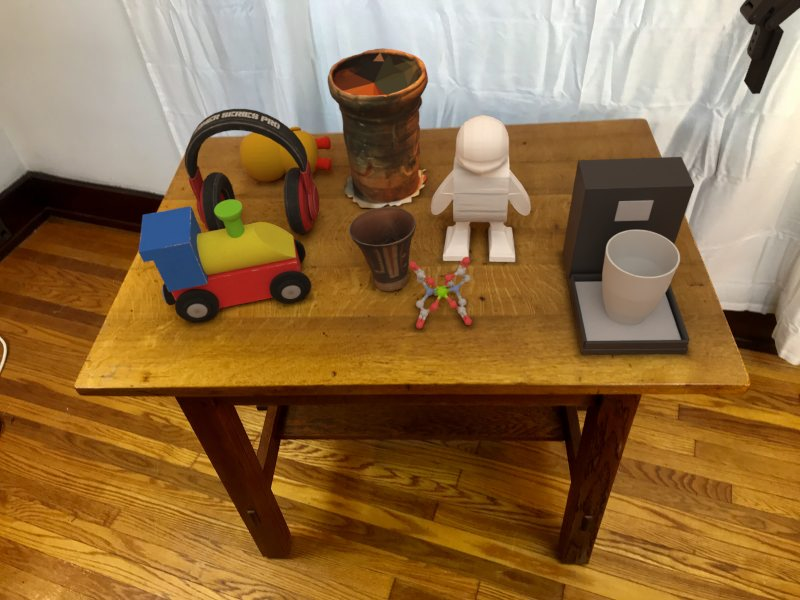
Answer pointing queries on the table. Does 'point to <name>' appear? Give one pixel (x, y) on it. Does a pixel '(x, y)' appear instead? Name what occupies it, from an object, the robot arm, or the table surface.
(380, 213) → the cup
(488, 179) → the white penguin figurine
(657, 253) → the cup
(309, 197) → the headphones
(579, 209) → the open gift box
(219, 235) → the toy train
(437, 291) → the molecular model
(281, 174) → the toy
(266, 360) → the table surface
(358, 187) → the vessel
